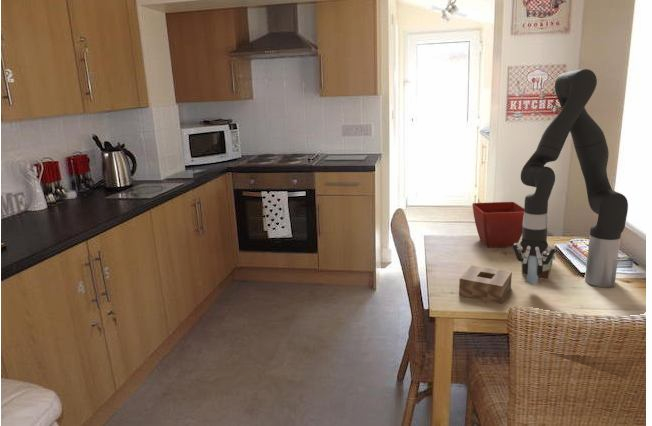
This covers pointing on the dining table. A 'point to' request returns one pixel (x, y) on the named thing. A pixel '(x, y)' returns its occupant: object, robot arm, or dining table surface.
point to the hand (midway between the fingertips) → (532, 273)
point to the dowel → (532, 270)
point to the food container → (546, 268)
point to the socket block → (485, 283)
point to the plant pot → (498, 223)
